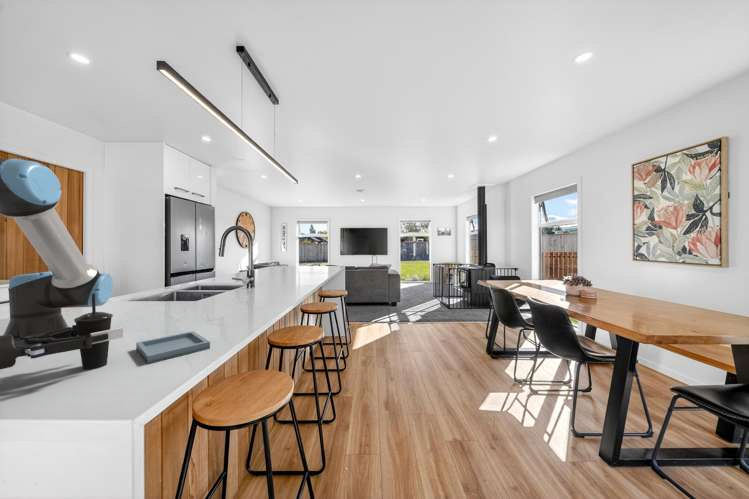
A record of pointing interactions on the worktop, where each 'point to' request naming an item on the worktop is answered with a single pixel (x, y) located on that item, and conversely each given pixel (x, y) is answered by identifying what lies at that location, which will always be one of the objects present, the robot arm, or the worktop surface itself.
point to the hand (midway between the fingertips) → (115, 329)
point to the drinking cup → (93, 324)
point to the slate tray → (171, 346)
